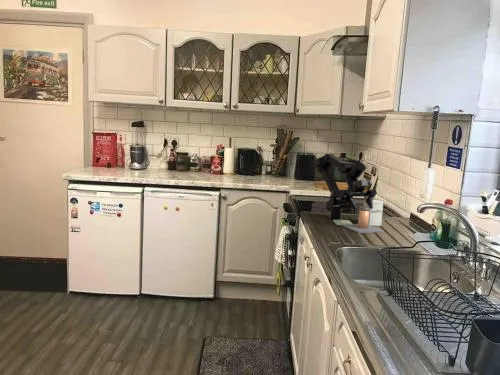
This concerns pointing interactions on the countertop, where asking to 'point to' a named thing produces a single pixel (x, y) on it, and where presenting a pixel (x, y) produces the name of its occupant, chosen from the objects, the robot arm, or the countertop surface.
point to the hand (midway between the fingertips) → (364, 208)
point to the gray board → (360, 230)
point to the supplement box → (375, 213)
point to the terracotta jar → (363, 217)
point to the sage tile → (342, 222)
